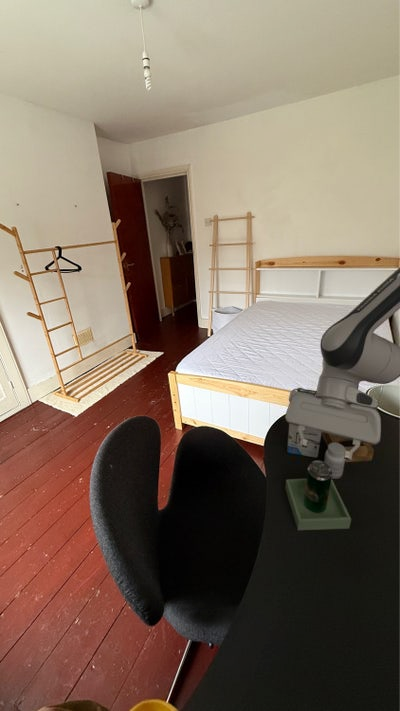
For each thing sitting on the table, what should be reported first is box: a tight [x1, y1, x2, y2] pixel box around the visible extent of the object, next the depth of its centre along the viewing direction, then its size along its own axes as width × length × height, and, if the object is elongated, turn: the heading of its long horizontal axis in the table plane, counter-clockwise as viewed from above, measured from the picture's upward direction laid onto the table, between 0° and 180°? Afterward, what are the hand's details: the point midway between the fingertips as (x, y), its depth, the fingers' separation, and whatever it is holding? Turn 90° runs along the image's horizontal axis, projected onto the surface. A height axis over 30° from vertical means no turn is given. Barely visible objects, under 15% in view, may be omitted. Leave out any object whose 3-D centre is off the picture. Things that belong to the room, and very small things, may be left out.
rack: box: [321, 432, 375, 463], centre depth 89 cm, size 10×18×4 cm, turn 179°
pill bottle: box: [323, 442, 346, 479], centre depth 77 cm, size 5×5×8 cm
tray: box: [284, 478, 352, 531], centre depth 70 cm, size 11×11×3 cm
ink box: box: [286, 423, 322, 459], centre depth 84 cm, size 9×5×12 cm, turn 71°
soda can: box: [304, 460, 333, 513], centre depth 68 cm, size 5×5×12 cm
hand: (324, 453), depth 67 cm, fingers open, 8 cm apart
